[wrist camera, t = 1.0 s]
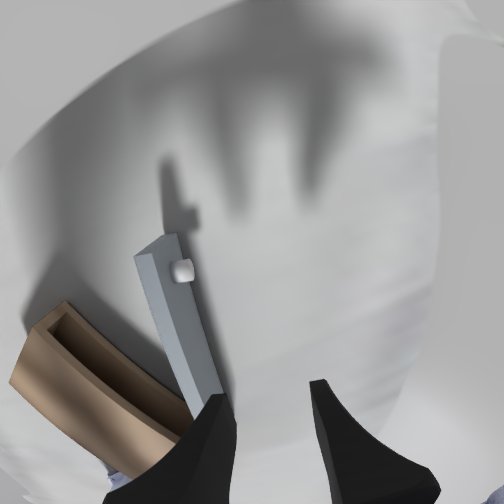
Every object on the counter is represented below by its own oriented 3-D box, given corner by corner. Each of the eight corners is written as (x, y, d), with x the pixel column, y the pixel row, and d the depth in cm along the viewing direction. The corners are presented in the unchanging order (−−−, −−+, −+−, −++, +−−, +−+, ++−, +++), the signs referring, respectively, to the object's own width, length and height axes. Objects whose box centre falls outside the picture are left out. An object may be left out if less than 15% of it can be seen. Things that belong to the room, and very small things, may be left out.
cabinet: (170, 461, 25) (160, 494, 21) (34, 356, 22) (8, 382, 18) (227, 429, 23) (222, 469, 19) (65, 300, 20) (32, 326, 16)
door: (224, 427, 23) (218, 468, 19) (161, 235, 18) (133, 256, 14) (247, 426, 23) (245, 467, 18) (191, 229, 18) (171, 249, 14)
